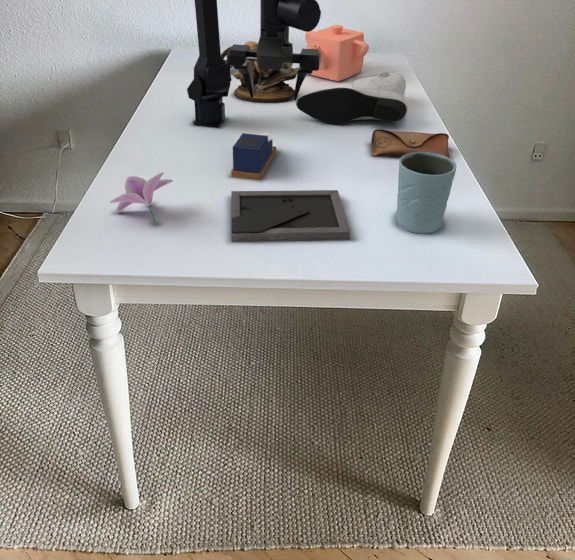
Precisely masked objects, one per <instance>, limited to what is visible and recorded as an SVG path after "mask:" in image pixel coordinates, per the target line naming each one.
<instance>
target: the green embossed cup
mask: <svg viewBox="0 0 575 560" xmlns="http://www.w3.org/2000/svg"><path fill="white" fill-rule="evenodd" d="M450 158H451V157H450ZM450 158H448V157H446V156H443V155H440V154H436V153H429V152H414V153H409V154H406V155H404V156H402V157H400V158H399V161H398V175H397V176H398V184H397V198H396V199H397V202H396V212H395V222H396V225H398V226H399V227H400V228H401V229H403V230H405V231H407V232H410V233H414V234H422V235H423V234H425V235H426V234H432V233H436V232H438V231H439V230H440V229H441V227H442V225H443V221H444V216H445V213H446V210H447V205H448V201H449V198H450V194H451V190H452V187H453V182H454V179H455V176H456V171H457V163H456V162H455V161H454V160H453V159H452V158H451V159H450Z"/></svg>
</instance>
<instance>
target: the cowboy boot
mask: <svg viewBox="0 0 575 560" xmlns="http://www.w3.org/2000/svg"><path fill="white" fill-rule="evenodd" d="M406 88H407V80H406V78H405V76H403V75H402V74H399V73H389V72H381V73H380V74H378V75H372V76H367V77H361V78H357V79H356V80H354V81H353V83H352V87H343V86H342V87H332V88H324V89H318V90H314V91H311V92H309V93H306V94H303V95H301V96H300V97H298V98H297V99H296V101H295V105H296V108H297V109H298V110H299V111H301V113H304V114H305V115H307V116H308V117H311V118H313V119H315V120H316V121H319V122H321V123H325V124H328V125H333V126H340V125H345V124H347V123H350V122H352V121H358V120H359V121H363V120H364V121H365V120H366V121H367V120H374V121H375V120H376V121H381V122H390V123H392V122H394V123H395V122H399V121H401V120H403V119H404V118H405V117H406V114H407V113H408V110H409V109H408V102H407V101H406V98H405V92H406Z"/></svg>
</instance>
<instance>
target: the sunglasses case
mask: <svg viewBox="0 0 575 560" xmlns="http://www.w3.org/2000/svg"><path fill="white" fill-rule="evenodd" d="M449 139H450V136H449V134H448V133H444V132H441V133H440V132H439V133H431V132H430V133H428V132H420V131H406V130H405V131H404V130H388V129H383V128H376V129H374V130H373V132H372V135H371V139H370V148H371V149H370V150H371V155H372V156H375V157H394V158H401V157H402V156H404V155H406V154H409V153H414V152H429V153H436V154H440V155H443V156H446V157H448V158H450V159H452V158H451V157H450V152H449Z"/></svg>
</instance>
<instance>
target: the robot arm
mask: <svg viewBox="0 0 575 560" xmlns="http://www.w3.org/2000/svg"><path fill="white" fill-rule="evenodd" d="M259 8H260V12H259V13H260V17H259V19H260V23H259V24H260V31H259V33H260V34H259V37H260V39H259V38H258V42H257V44H258V49H257V51H251V49H250V45H245V44H235V43H234V44H233V45H231V46H232V47H231V46H230V47H231V48H230V49H229V51H228V52H227V56H226V60H227V63H226V62H225V61H224V60H225V58H224V59H223V58H222V56H221V54H222V52H221V39H220V24H219V23H220V22H219V11H218V10H219V9H218V0H194V9H195V21H196V32H197V43H198V57H197V60H196V62H195V64H194V67H193V79H192V81H191V82H190V84H189V85H188V86H187V88H186V91H187V97H188V99H190V100H191V101H194V118H195V120H194V121H193V122H192V125H195V126H204V127H212V128H213V127H214V128H219V127H220V126H221V124H222V123H223V122H224V121H225V120H226V103H225V102H223V98H227V97H229V92H230V88H231V84H232V83H231V82H232V80H233V79H232V76H231V68H230V65H234V66H233V67H232V68H233V69H234V70H237V71H238V70H239V71H240V72H241V74H242V75H243V77H244V80H245V82H246V85H247V88H248V91H249V93H250V96H251V98H253V96H254V82H253V68H252V61H257V66H258V68H259V69H274V70H280V69H281V68H282V63H293V64H298V66H299V67H298V68H299V69H298V72H297V75H296V76H297V77H296V81H295V86H294V90H295V92H294V97H293V101H294V102H297V100H298V96H299V93H300V90H301V87H302V86H303V85H302V84H303V82H304V81H305V78H306V77H307V75H310V74H312V72H313V71H317V70H319V67H320V63H321V52H320V51H319V50H317V49H307V48H301V51H300V53H296V52H295V53H294V47H293V43H292V42H290V28H293V29H296V30H299V31H302V32H305V33H306V32H310V31H314V30H315V29H316V28H317V26H318V25H319V23H320V21H321V17H322V10H321V6H320V4H319V3H318V1H317V0H260V7H259ZM289 42H290V43H289ZM239 71H238V72H239Z"/></svg>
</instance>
